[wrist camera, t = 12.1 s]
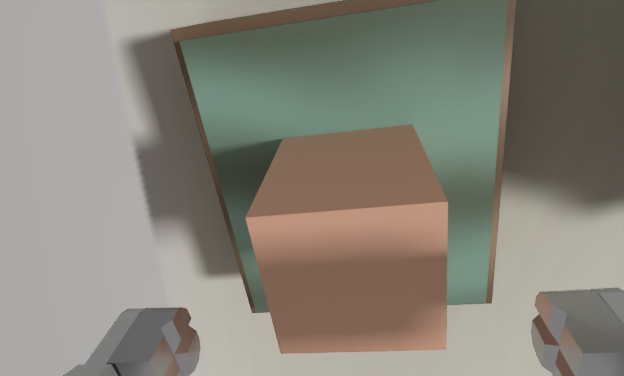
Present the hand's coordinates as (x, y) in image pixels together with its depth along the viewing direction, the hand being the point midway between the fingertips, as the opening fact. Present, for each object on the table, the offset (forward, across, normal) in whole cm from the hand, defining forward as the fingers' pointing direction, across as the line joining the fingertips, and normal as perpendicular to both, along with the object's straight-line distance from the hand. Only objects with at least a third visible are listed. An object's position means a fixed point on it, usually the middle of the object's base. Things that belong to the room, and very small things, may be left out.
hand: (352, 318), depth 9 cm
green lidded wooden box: (+11, 0, +1) cm, 11 cm away
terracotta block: (+7, 0, 0) cm, 7 cm away
